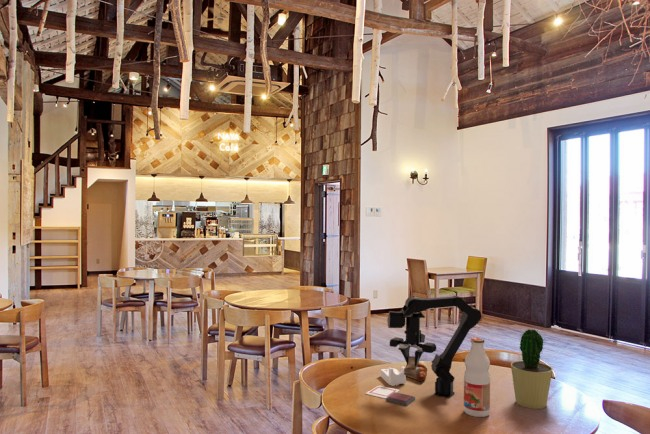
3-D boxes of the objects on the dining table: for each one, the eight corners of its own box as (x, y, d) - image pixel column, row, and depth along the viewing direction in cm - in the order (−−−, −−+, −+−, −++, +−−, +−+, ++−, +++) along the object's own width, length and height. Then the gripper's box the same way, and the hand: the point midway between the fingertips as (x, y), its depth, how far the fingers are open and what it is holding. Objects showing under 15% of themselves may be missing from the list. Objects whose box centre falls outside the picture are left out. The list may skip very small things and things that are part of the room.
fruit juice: (494, 417, 185) (494, 341, 185) (469, 418, 184) (470, 342, 184) (483, 407, 194) (484, 335, 194) (460, 408, 193) (460, 335, 193)
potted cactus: (527, 412, 190) (528, 333, 190) (502, 398, 205) (503, 324, 204) (561, 408, 194) (562, 331, 194) (534, 395, 209) (535, 323, 209)
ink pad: (415, 399, 202) (415, 395, 202) (406, 405, 195) (406, 402, 195) (394, 395, 207) (394, 391, 207) (386, 400, 200) (386, 397, 200)
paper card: (399, 390, 212) (399, 389, 212) (387, 399, 202) (387, 398, 202) (378, 386, 218) (378, 385, 218) (365, 394, 208) (365, 393, 208)
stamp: (420, 373, 209) (420, 356, 209) (415, 376, 204) (415, 359, 204) (409, 371, 211) (409, 354, 211) (404, 374, 207) (404, 357, 207)
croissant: (403, 376, 243) (396, 361, 242) (421, 365, 244) (414, 351, 243) (417, 390, 222) (408, 374, 221) (436, 379, 223) (428, 363, 222)
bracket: (405, 385, 220) (406, 368, 220) (390, 386, 218) (390, 369, 218) (394, 376, 232) (395, 359, 232) (380, 377, 231) (380, 360, 231)
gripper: (441, 327, 209) (440, 364, 209) (400, 321, 220) (400, 357, 220) (431, 332, 200) (430, 371, 200) (389, 326, 210) (388, 363, 210)
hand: (412, 365), depth 208 cm, fingers closed on stamp, 3 cm apart
